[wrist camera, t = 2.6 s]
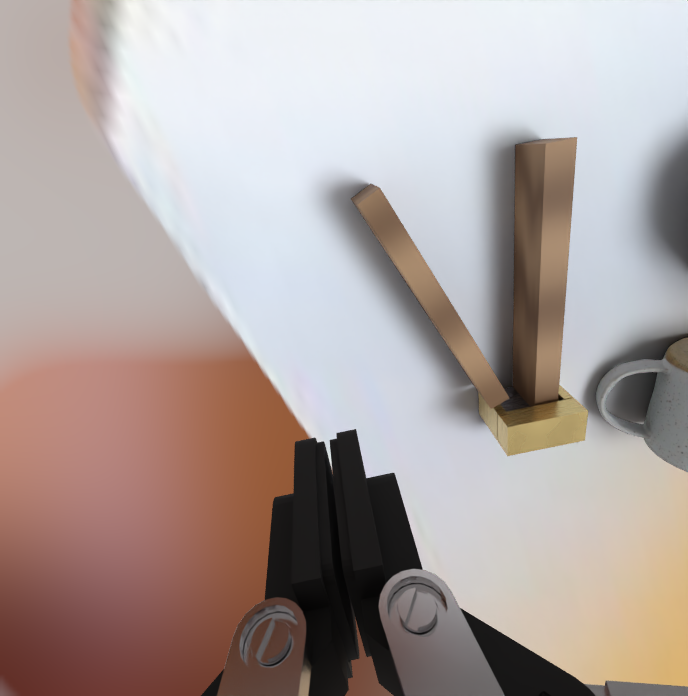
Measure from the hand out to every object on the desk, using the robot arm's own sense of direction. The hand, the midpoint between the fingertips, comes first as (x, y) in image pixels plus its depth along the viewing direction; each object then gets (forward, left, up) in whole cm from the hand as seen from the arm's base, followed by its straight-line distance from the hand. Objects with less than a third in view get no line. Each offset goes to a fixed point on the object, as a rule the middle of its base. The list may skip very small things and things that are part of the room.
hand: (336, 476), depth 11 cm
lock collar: (+11, +13, -16) cm, 23 cm away
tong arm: (+2, +7, -16) cm, 18 cm away
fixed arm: (+3, +14, -16) cm, 21 cm away
